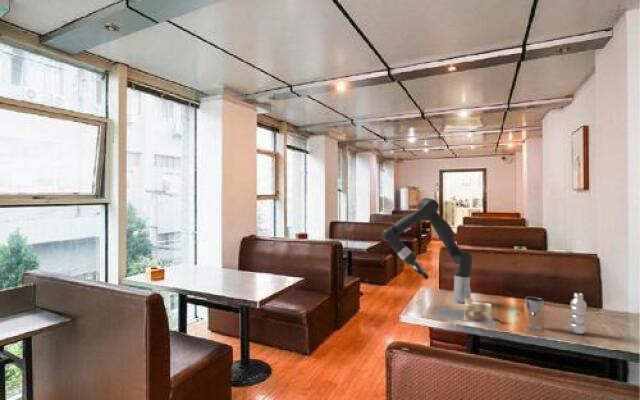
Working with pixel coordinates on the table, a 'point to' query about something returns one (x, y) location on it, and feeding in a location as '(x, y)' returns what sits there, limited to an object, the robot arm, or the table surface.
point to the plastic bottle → (578, 314)
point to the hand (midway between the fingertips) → (427, 278)
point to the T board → (460, 316)
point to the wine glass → (534, 309)
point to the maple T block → (477, 310)
